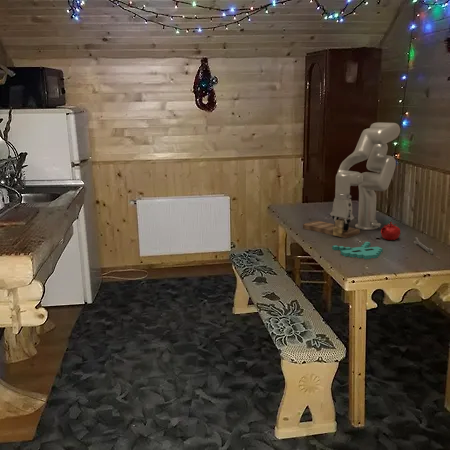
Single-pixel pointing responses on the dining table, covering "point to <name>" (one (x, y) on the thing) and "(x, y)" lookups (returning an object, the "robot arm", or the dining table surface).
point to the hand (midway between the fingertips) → (341, 229)
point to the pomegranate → (390, 232)
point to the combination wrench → (423, 246)
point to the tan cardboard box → (339, 227)
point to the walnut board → (329, 228)
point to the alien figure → (360, 251)
